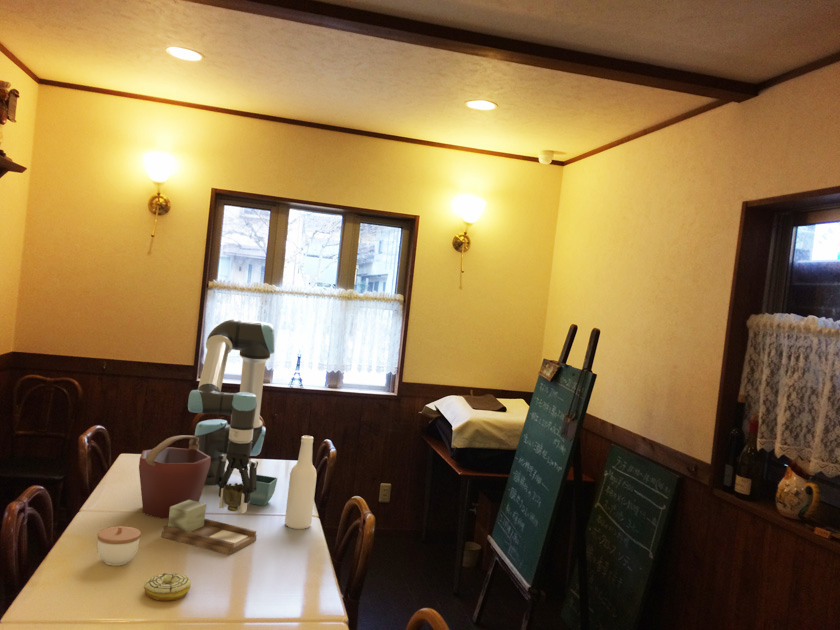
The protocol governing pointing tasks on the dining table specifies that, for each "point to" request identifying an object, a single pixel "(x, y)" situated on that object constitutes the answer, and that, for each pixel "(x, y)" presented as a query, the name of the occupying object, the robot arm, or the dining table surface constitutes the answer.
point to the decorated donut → (167, 586)
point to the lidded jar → (118, 544)
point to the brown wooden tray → (204, 529)
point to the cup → (233, 496)
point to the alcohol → (301, 488)
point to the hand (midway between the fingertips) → (232, 509)
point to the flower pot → (263, 490)
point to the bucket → (172, 475)
